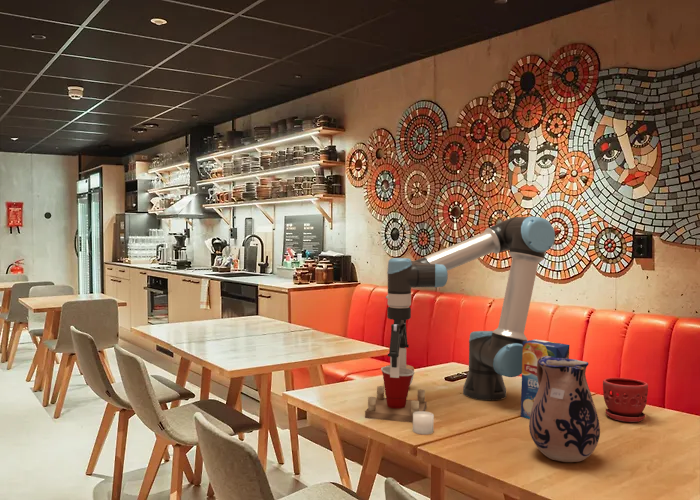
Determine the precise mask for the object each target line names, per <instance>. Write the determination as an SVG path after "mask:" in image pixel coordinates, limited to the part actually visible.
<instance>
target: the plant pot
mask: <svg viewBox="0 0 700 500" xmlns="http://www.w3.org/2000/svg"><path fill="white" fill-rule="evenodd" d="M602 390H603V391H602V393H603V394H602V395H603V400H604V403H605V405H606V409H605V414H606V415H607V417H609V418H610V419H611V420H615V421H619V422H624V423H639V422H641V421H643V420H645V418H646V413H644V410H645V408H646V405H647V401H648V393H649V384H648V383H647V382H646V381H644V380H640V379H634V378H625V377H607V378H604V379H603V380H602ZM617 394H618V395H617Z"/></svg>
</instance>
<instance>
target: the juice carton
mask: <svg viewBox="0 0 700 500" xmlns="http://www.w3.org/2000/svg"><path fill="white" fill-rule="evenodd" d="M544 356H550V357H554V358H564V359H565V358H567V359H570V344H567V343H566V344H565V343H560V342H556V341H555V342H554V341H548V340H543V339H536V338H535V339H531V340H527V341H524V342H523V352H522V374H521V387H520V389H521V390H520V391H521V394H520V396H521V397H520V418H524V419H528V420H530V414H531V409H532V406H533V403H534V399H535V397H536V394H537V392H538V389H539V384H538V378H537V363H538V360H539V359H540V358H541V357H544Z"/></svg>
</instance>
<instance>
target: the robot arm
mask: <svg viewBox="0 0 700 500" xmlns="http://www.w3.org/2000/svg"><path fill="white" fill-rule="evenodd" d="M555 240H556V232H555V229H554V227H553V225H552V223H551V221H549V220H548V219H546V218H543V217H541V216H534V215H533V216H532V215H531V216H514V217H510V218H508V219H506V220H502V221H501V222H499V223H496V224H494V225H493V226H490V227H487V228H485V229H484V232H482V233H480V234H477V235H475V236H472V237H470V238H468V239H465V240H462V241H460V242H458V243H455V244H453V245H451V246H448V247H446V248H445V247H444V248H442V249H441V250H438V251H435V252H432V253H431V254H429V255H426V256H424V257H420V258H418V259H416V260H412V259H411V258H408V257H407V258H406V257H393V258H389V260H388V261H387V273H386V274H387V295H386V296H385V299H387V306H388V307H387V308H386V309H387V310H386V311H387V313H386V317H387V319H389V320H393V323H392V324H391V325H390V328H391V329H390V330H391V331H390V332H391V333H390V341H389V342H390V343H389V352H388V353H387V357H389V361H390V363H389V365H390V377H393V378H399V367H403V368H406V365H407V349H409V344H408V343H409V342H408V334H407V321H408V320H410V319H411V318H412V309H411V307H410V306H411V305H412V288H435V289H436V288H443V287H444V286H446V285H447V282H448V277H449V276H448V275H449V274H448V271H450V270H453V269H456V268H458V267H460V266H463V265H465V264H467V263H471V262H472V261H475V260H477V259H480V258H482V257H485V256H487V255H489V254H492V253H493V254H495V255H496V254H499V253H501V252H506V251H508V253H509V255H510V257H511V264H510V268H509V272H508V273H509V274H508V278H507V283H506V287H505V292H504V296H503V297H504V298H503V301H502V308H501V312H500V318H499V322H498V326H497V328H495V329H494V330H476V331H474V330H473V331H472V332H470V334H469V340H468V373H467V376H466V379H465V381H464V384H463V387H462V390H463V391H462V394H463V395H464V396H466V397H468V398H470V399H474V400H482V401H499V400H504V399H506V398H507V387H506V384H505V382H504V378H503V377H505V378H517V377H519V376H521V375H522V352H523V342H524V341H528V338H527V335H525V330H526V325H527V319H528V315H529V311H530V304H531V299H532V295H533V291H534V285H535V281H536V277H537V275H536V274H537V271H538V266H539V264H540V263H541V262H542V261H544V260H545V255H546V252H547V251H549V249H551V248H553V245H554V243H555Z"/></svg>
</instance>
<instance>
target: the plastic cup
mask: <svg viewBox="0 0 700 500" xmlns="http://www.w3.org/2000/svg"><path fill="white" fill-rule="evenodd" d="M380 370H381V373H382V379H383V387H384V396H385V398H386V400H387V405H388V407H390V408H397V409H399V408H404V407H405V405H406V400H408V395H409V391H410V386H411V385H410V381H411V378H412V376H413V377H414V375H413V374H415V370H414V371H413V370H411V369H407V368H403V367H399V378H393V377H390V366H387V365H386V367H385V366H383V367H380Z"/></svg>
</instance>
